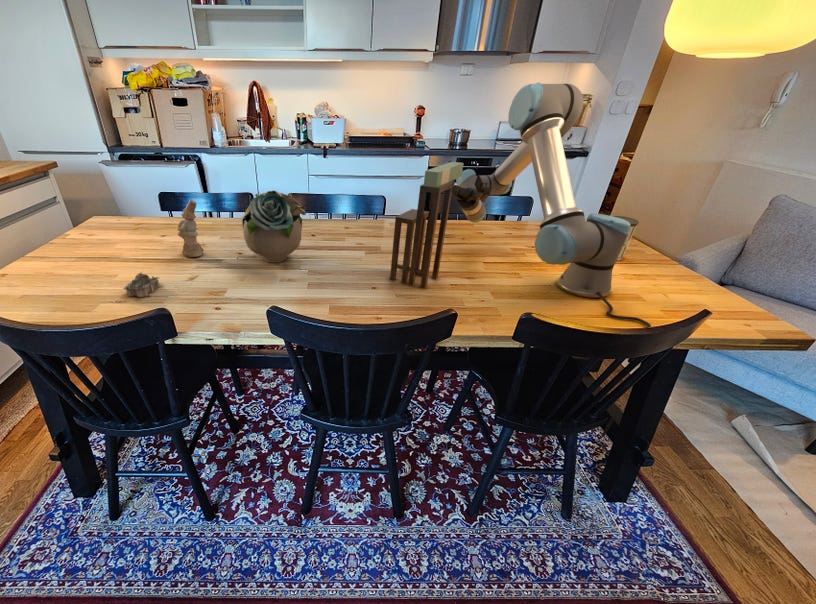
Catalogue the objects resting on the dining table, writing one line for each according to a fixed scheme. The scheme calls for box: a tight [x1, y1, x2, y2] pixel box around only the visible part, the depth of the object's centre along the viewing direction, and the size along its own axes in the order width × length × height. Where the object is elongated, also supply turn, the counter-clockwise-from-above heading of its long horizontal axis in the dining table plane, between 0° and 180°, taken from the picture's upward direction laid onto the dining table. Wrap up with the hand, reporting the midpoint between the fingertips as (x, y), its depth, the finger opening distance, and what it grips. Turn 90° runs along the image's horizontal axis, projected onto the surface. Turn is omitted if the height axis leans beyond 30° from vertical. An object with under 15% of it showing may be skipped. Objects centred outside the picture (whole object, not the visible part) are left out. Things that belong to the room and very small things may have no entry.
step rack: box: [389, 180, 456, 289], centre depth 128 cm, size 12×13×31 cm
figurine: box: [177, 199, 204, 258], centre depth 148 cm, size 9×8×20 cm
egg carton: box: [122, 271, 161, 298], centre depth 126 cm, size 11×8×4 cm
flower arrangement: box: [241, 189, 307, 263], centre depth 144 cm, size 25×25×24 cm
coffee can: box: [612, 215, 640, 261], centre depth 152 cm, size 10×10×14 cm
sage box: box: [423, 161, 464, 187], centre depth 119 cm, size 20×4×4 cm, turn 145°
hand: (456, 177), depth 128 cm, fingers open, 13 cm apart
